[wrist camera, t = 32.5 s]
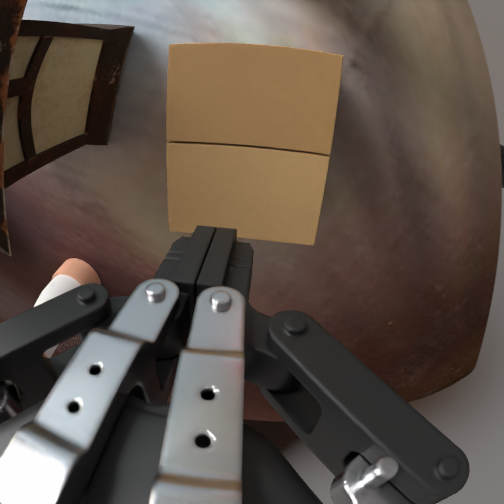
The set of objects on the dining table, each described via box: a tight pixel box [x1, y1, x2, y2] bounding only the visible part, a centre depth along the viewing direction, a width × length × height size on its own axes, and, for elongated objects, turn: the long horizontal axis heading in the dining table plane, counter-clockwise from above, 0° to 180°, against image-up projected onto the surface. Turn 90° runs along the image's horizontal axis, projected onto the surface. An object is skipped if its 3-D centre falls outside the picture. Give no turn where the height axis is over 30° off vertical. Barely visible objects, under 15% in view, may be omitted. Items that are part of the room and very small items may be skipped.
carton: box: [166, 43, 343, 156], centre depth 25 cm, size 15×12×10 cm
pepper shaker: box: [34, 258, 101, 358], centre depth 34 cm, size 7×7×19 cm
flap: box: [167, 142, 330, 246], centre depth 23 cm, size 7×12×1 cm, turn 86°
